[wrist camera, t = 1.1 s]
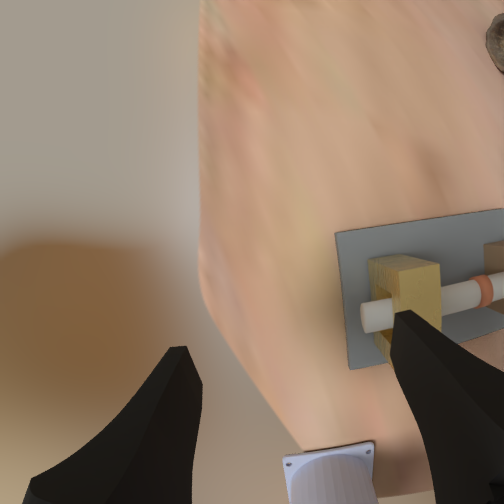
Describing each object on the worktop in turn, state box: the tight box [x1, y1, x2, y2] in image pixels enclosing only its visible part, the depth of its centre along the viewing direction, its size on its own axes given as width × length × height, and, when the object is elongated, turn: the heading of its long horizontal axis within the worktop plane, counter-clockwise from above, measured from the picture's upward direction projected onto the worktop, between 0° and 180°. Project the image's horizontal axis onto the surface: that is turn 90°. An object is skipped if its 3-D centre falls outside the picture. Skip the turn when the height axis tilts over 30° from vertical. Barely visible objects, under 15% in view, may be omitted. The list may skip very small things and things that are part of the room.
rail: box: [334, 209, 504, 370], centre depth 18 cm, size 15×10×5 cm, turn 99°
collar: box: [367, 254, 442, 369], centre depth 17 cm, size 2×6×6 cm, turn 9°
